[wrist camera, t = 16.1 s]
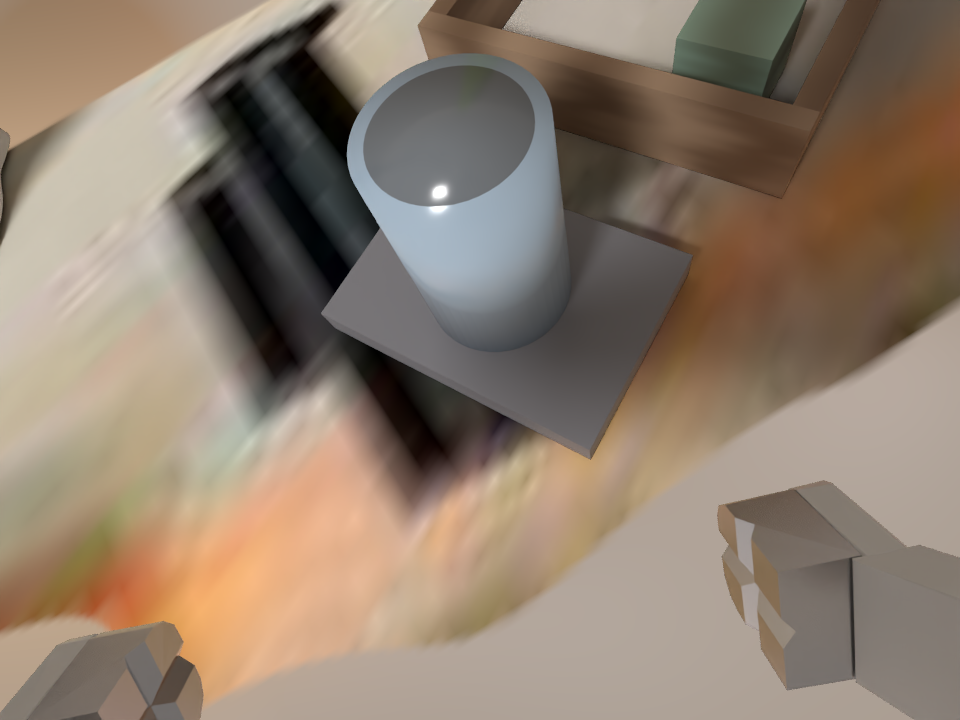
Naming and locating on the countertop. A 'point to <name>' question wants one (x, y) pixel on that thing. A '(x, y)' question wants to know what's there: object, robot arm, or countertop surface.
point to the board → (550, 359)
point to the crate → (660, 96)
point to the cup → (469, 195)
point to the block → (738, 43)
